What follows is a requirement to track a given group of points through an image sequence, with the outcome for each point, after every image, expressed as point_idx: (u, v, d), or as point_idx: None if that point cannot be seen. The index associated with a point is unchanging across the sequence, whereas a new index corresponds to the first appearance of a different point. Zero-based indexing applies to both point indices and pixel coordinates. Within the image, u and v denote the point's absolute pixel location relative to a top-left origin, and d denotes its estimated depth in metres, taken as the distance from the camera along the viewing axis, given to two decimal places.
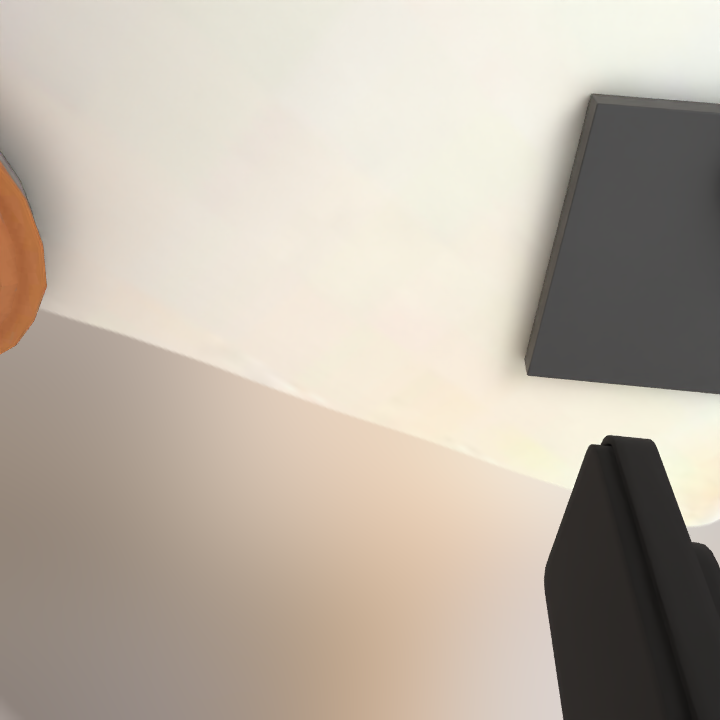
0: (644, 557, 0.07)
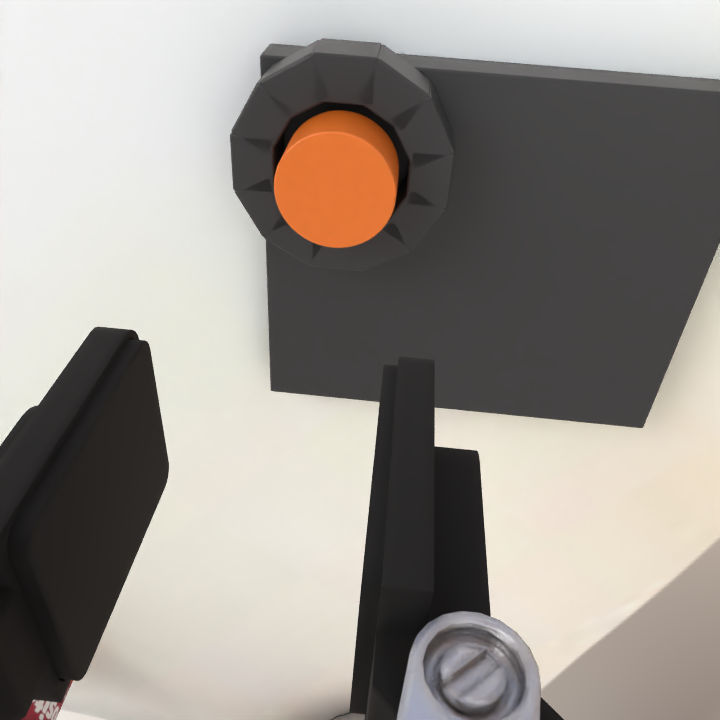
0: (390, 447, 0.08)
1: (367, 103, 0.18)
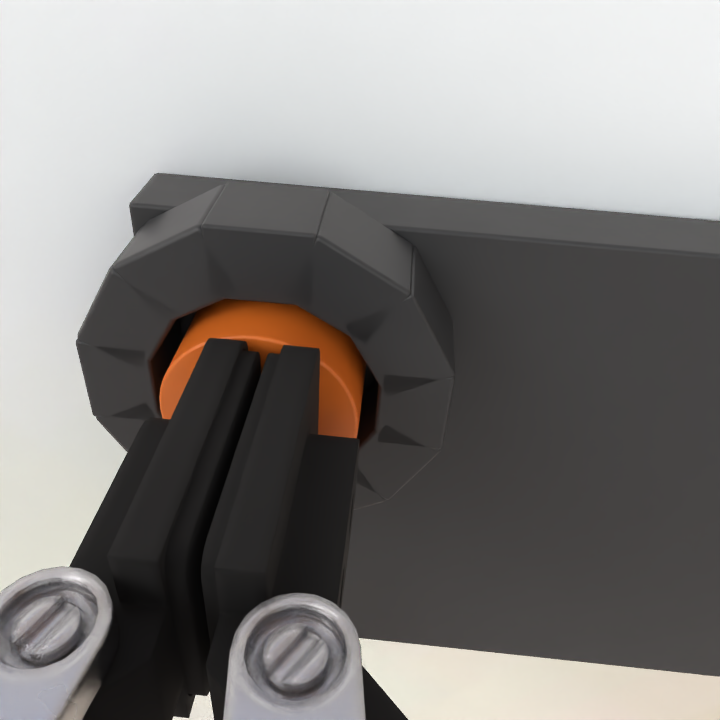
0: (255, 433, 0.08)
1: (302, 303, 0.10)
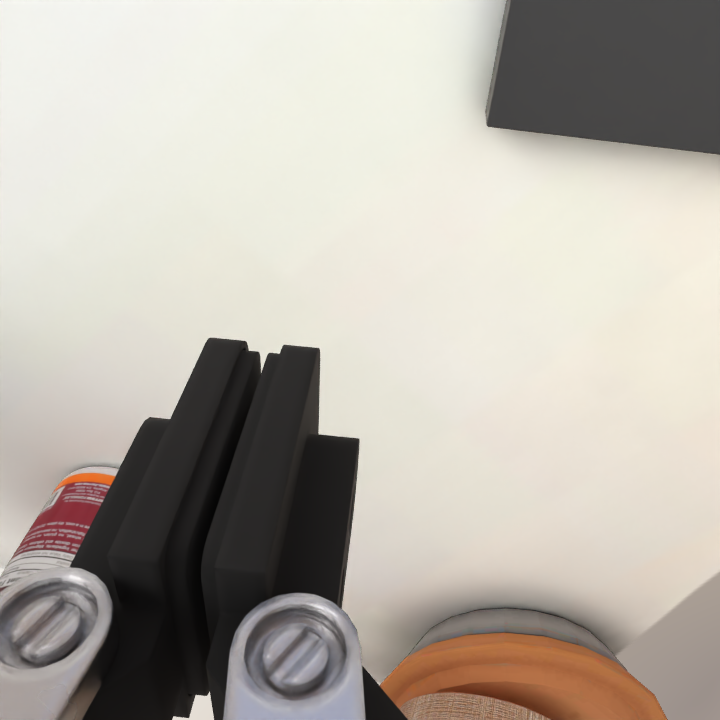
0: (256, 433, 0.08)
1: None
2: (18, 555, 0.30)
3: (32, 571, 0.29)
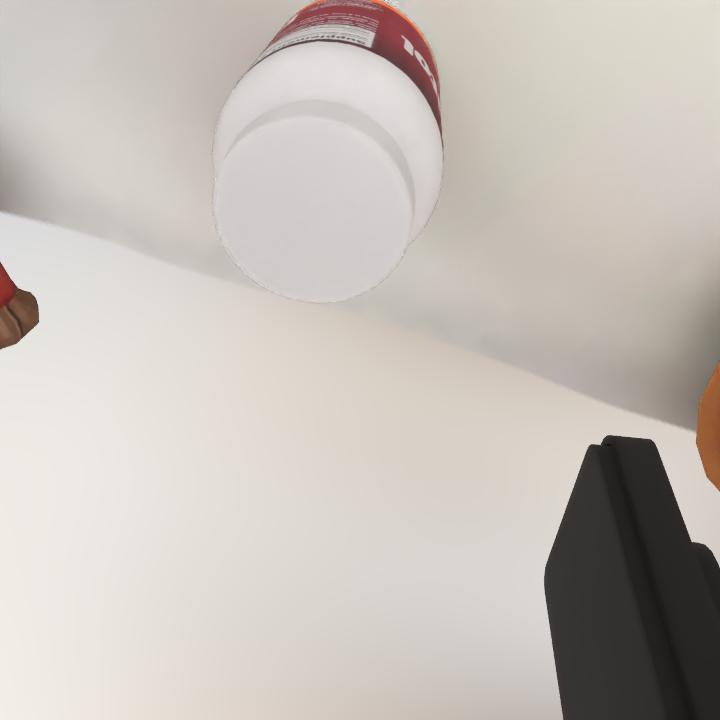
0: (644, 557, 0.07)
1: None
2: (268, 48, 0.19)
3: (311, 34, 0.18)
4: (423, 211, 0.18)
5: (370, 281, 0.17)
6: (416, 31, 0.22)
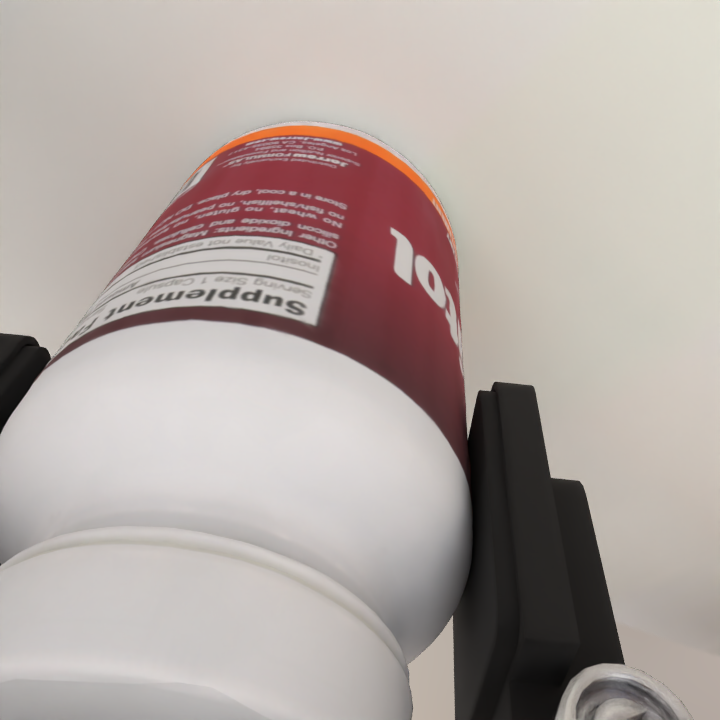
0: (504, 482, 0.08)
1: None
2: (124, 272, 0.09)
3: (192, 278, 0.08)
4: (431, 639, 0.09)
5: None
6: (419, 191, 0.12)
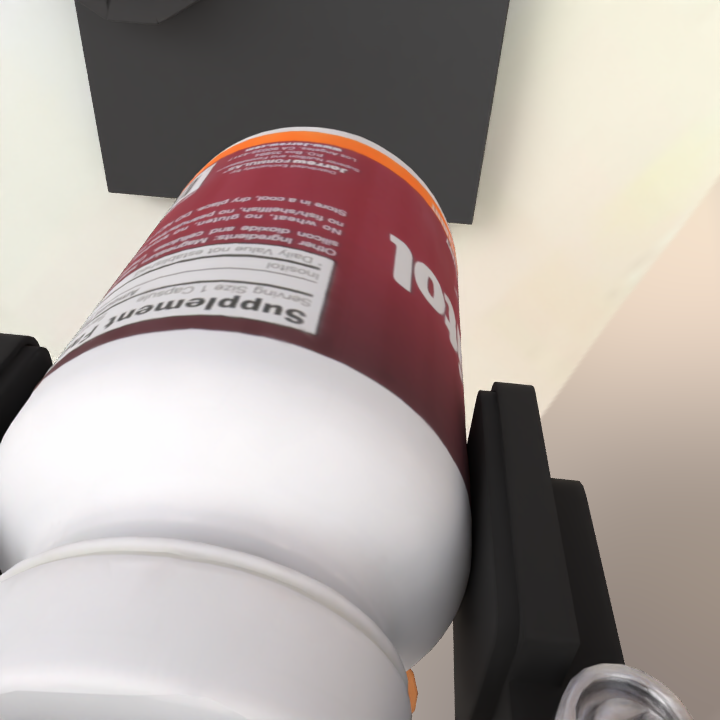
0: (505, 482, 0.08)
1: None
2: (124, 279, 0.10)
3: (192, 287, 0.08)
4: (430, 645, 0.09)
5: None
6: (419, 197, 0.12)
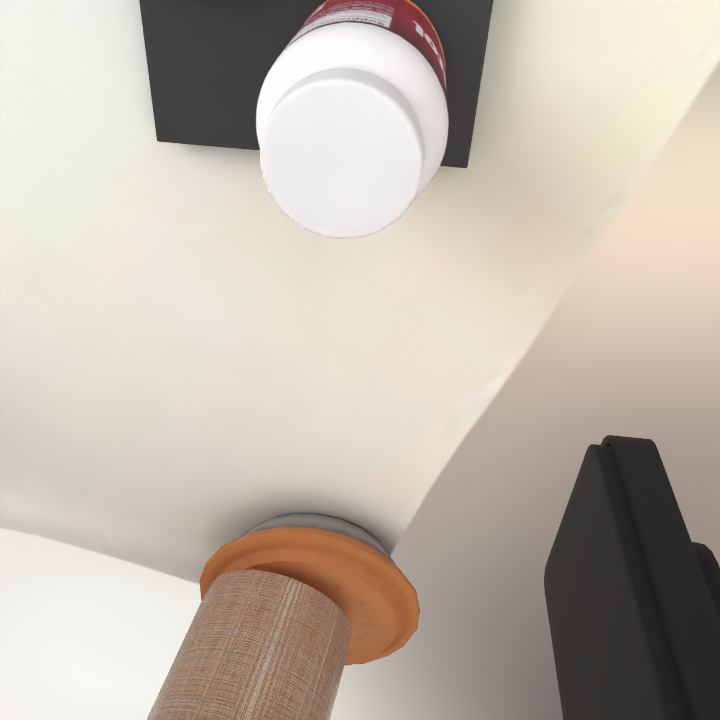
0: (644, 557, 0.07)
1: None
2: (301, 30, 0.22)
3: (339, 17, 0.21)
4: (431, 165, 0.21)
5: (387, 219, 0.20)
6: (425, 19, 0.25)
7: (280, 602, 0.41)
